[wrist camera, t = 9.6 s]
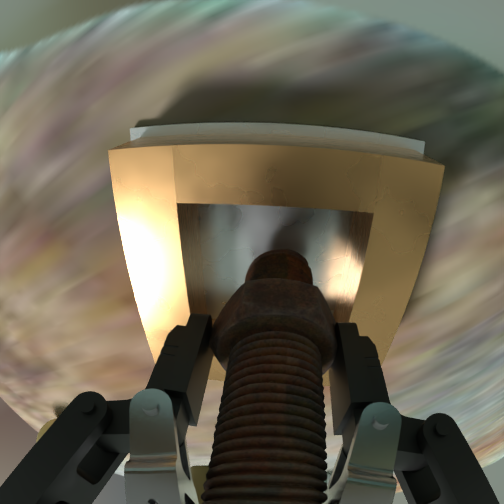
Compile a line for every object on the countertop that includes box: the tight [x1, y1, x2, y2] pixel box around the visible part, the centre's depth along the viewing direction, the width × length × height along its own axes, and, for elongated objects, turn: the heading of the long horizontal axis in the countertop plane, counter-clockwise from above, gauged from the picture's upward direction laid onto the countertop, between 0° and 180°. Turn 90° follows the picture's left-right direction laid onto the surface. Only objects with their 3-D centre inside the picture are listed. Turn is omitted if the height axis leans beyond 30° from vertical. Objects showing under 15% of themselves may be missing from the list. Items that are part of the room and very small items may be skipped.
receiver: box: [108, 122, 445, 386], centre depth 14 cm, size 14×14×3 cm
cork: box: [191, 466, 209, 504], centre depth 31 cm, size 6×6×11 cm
